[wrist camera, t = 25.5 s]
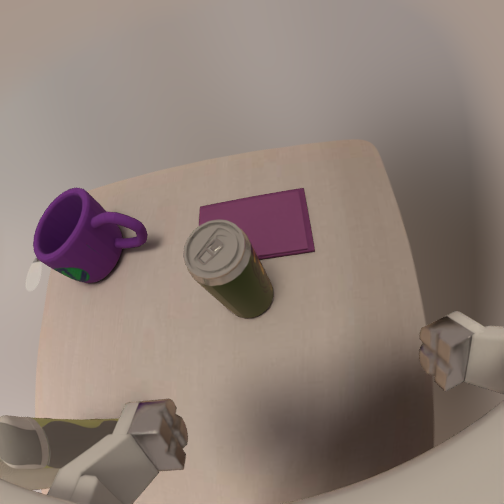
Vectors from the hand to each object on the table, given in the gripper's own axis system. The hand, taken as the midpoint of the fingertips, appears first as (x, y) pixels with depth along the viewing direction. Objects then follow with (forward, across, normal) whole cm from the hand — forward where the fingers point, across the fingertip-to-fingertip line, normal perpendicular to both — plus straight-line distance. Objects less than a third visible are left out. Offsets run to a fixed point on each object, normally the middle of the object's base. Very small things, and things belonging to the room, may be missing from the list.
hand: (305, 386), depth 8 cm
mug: (+34, +20, -2) cm, 39 cm away
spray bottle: (+17, +17, +17) cm, 30 cm away
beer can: (+24, +2, +6) cm, 25 cm away
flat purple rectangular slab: (+29, -1, -1) cm, 29 cm away
